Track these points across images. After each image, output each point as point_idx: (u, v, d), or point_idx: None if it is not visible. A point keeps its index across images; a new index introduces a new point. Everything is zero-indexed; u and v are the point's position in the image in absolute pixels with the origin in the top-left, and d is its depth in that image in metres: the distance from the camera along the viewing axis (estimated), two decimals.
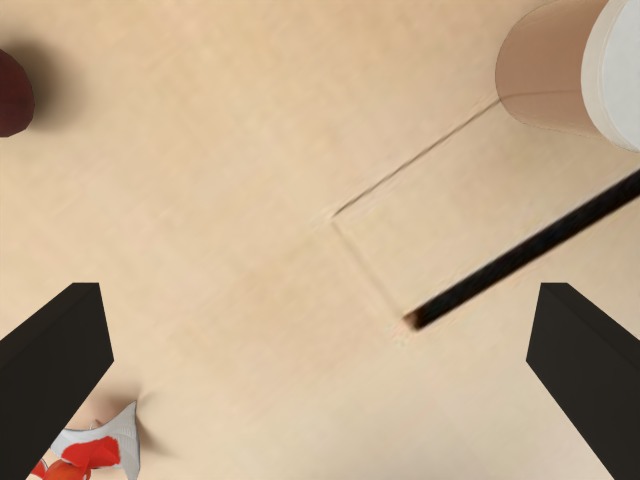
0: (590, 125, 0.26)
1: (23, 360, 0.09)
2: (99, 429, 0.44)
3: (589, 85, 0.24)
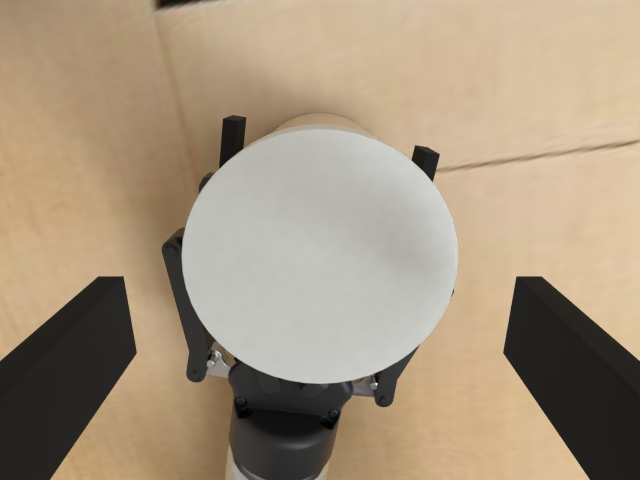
0: None
1: (59, 349, 0.10)
2: None
3: None
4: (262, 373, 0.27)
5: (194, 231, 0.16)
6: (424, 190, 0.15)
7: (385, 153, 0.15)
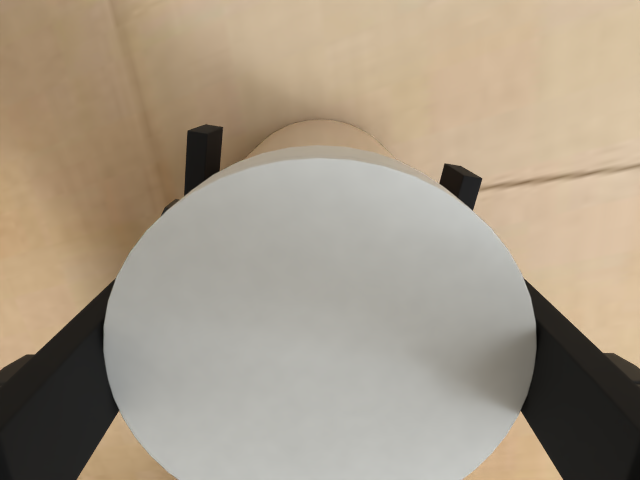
0: None
1: (93, 339, 0.10)
2: None
3: None
4: None
5: (121, 316, 0.10)
6: (489, 255, 0.09)
7: (428, 197, 0.09)
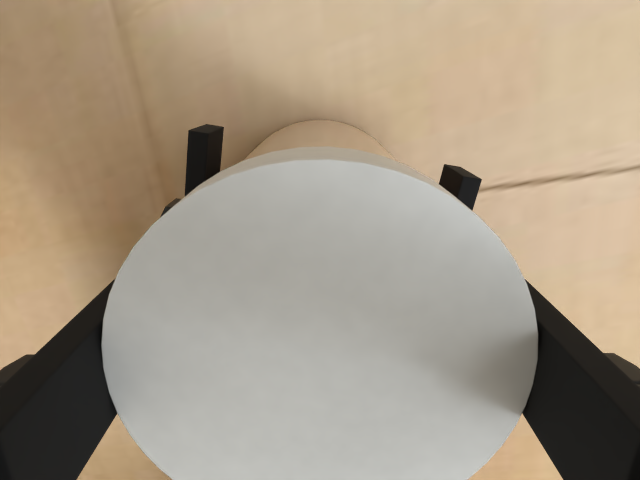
0: None
1: (93, 339, 0.10)
2: None
3: (257, 162, 0.10)
4: None
5: None
6: (123, 307, 0.10)
7: (115, 376, 0.10)
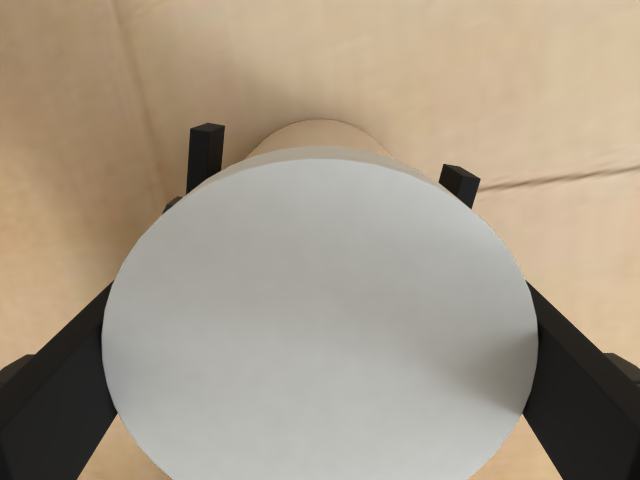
0: None
1: (93, 339, 0.10)
2: None
3: None
4: None
5: (499, 267, 0.10)
6: None
7: None
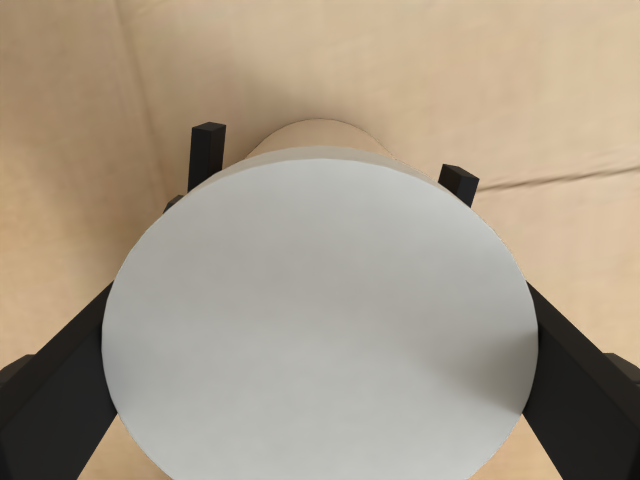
0: None
1: (93, 339, 0.10)
2: None
3: None
4: None
5: (126, 293, 0.10)
6: (505, 279, 0.10)
7: (456, 215, 0.09)
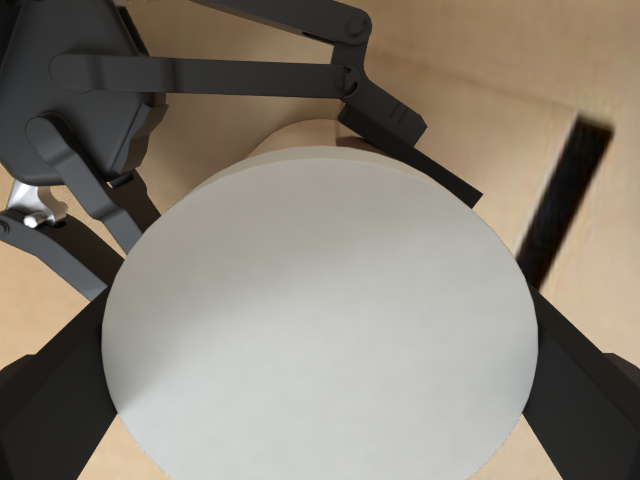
0: None
1: (93, 339, 0.10)
2: None
3: None
4: (95, 67, 0.15)
5: (127, 292, 0.10)
6: (505, 280, 0.10)
7: (457, 215, 0.09)
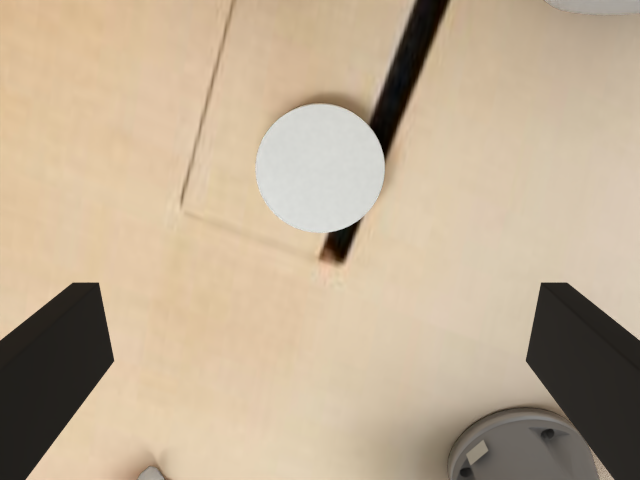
0: None
1: (23, 360, 0.09)
2: None
3: None
4: None
5: (265, 143, 0.34)
6: (372, 139, 0.34)
7: (357, 120, 0.34)
